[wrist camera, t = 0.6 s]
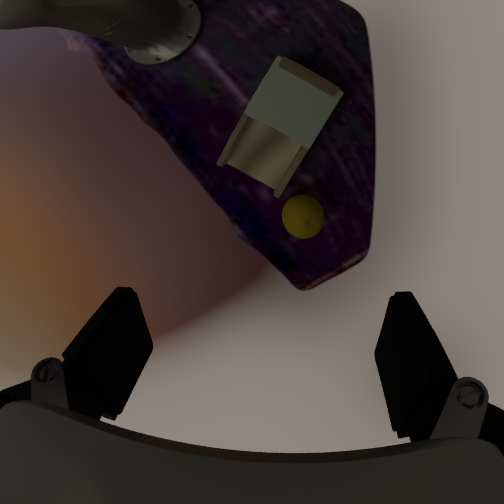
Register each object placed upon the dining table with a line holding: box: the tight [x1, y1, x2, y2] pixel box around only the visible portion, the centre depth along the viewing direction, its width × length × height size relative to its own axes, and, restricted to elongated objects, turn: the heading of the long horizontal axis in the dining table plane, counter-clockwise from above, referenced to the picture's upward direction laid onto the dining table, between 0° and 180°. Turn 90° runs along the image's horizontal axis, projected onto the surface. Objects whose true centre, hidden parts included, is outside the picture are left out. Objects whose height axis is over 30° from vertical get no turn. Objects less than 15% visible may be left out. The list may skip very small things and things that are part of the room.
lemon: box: [282, 194, 324, 238], centre depth 37 cm, size 6×6×8 cm
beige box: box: [217, 113, 309, 198], centre depth 33 cm, size 9×16×4 cm, turn 151°
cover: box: [244, 56, 344, 148], centre depth 28 cm, size 9×8×3 cm
